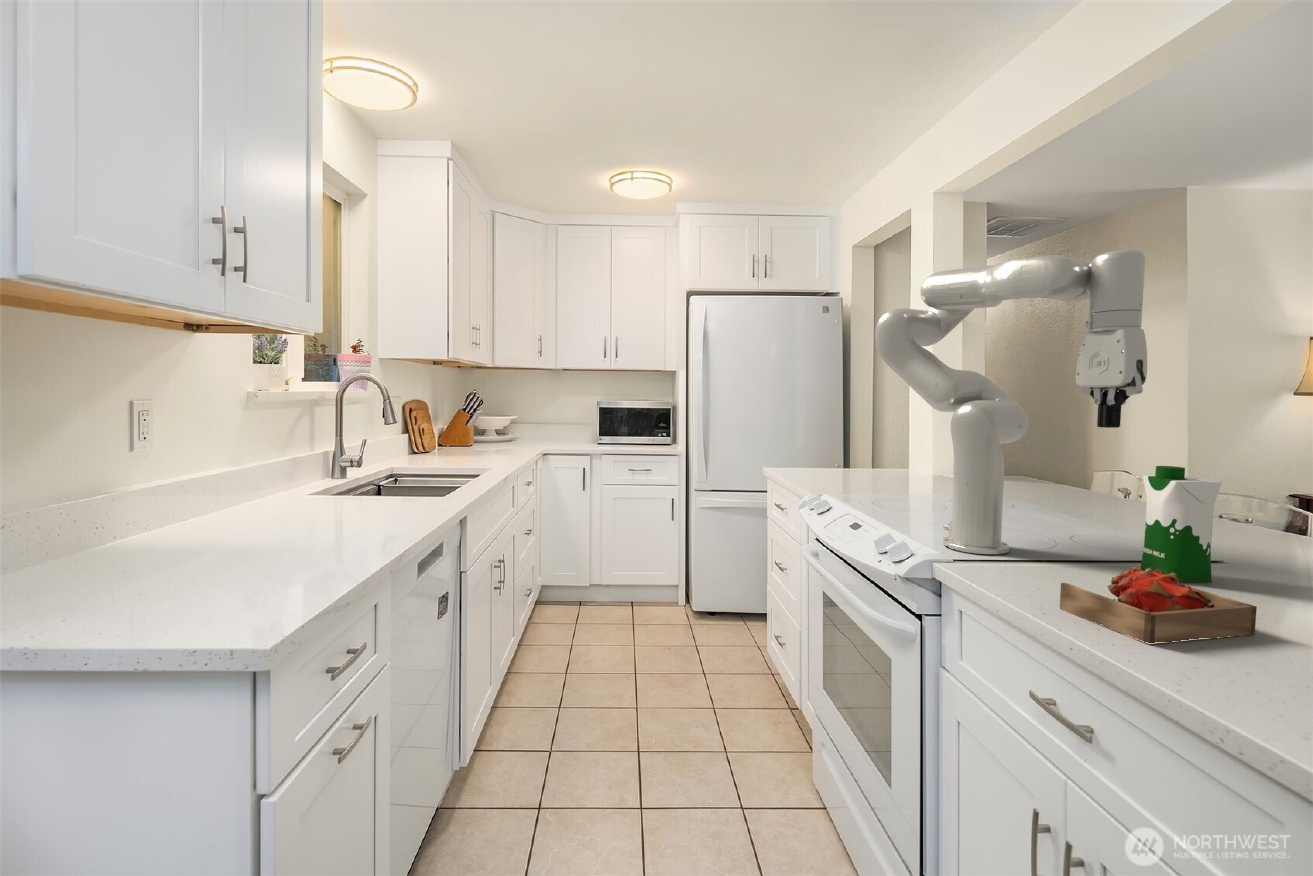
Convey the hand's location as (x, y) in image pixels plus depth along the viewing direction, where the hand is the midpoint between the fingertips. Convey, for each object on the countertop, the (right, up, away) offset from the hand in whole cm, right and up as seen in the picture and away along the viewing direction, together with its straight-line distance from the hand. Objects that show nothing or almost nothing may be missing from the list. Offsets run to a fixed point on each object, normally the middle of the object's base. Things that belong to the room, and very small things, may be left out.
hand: (1108, 427), depth 108 cm
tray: (-9, -29, -20) cm, 36 cm away
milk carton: (+13, -27, +1) cm, 30 cm away
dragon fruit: (-8, -29, -21) cm, 36 cm away
